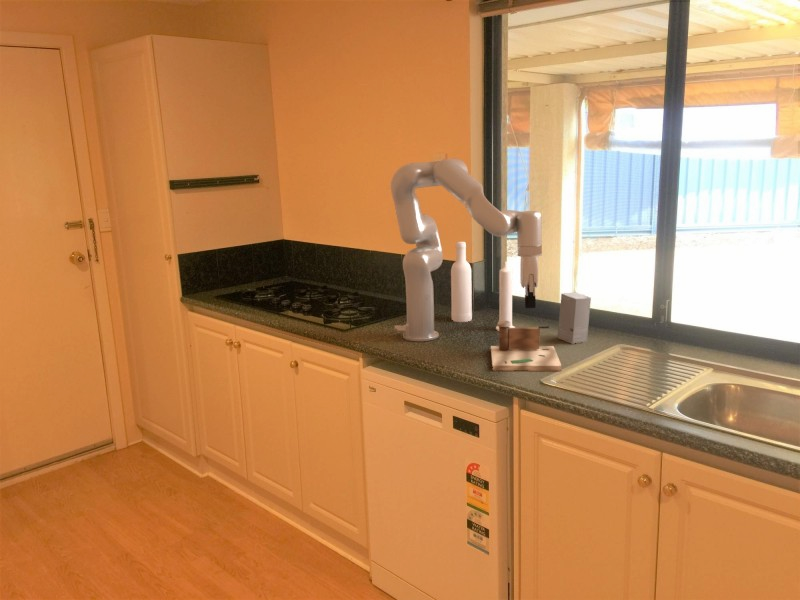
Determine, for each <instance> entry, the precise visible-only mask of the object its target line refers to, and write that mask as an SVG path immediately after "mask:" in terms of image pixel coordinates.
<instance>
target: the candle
mask: <svg viewBox="0 0 800 600" xmlns="http://www.w3.org/2000/svg"><path fill="white" fill-rule="evenodd" d="M498 275H499V279H498V280H499V283H498V284H499V287H498V289H499V294H498V295H499V299H498V303H499V306H498V307H499V320H498V322H499V321H509V322H510V326H509V328H516V326H514V325H513V269H511V267H509V266H508V261H506V260H505V261H504V265H503V266H502V268H501V269H499V274H498ZM495 330H496V331H497V332H499V326H498V325H496V327H495Z"/></svg>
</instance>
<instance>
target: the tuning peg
mask: <svg viewBox="0 0 800 600" xmlns="http://www.w3.org/2000/svg"><path fill="white" fill-rule="evenodd" d="M497 326H499V331H498V346H499V350H503V351H505V350H509V349H539V346H540V334H541V333H540V332H541V331H540V330H541V329H550V326H549V325H548V326H543V325H542V326H538V327H537V326H536V327H526V326H525V327H515V328H509V326H510V322H509V321H499V320H498V321H497Z"/></svg>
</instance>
